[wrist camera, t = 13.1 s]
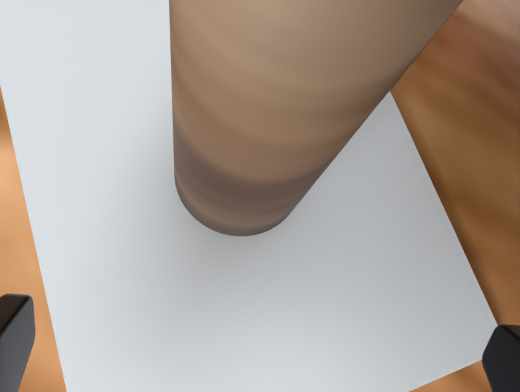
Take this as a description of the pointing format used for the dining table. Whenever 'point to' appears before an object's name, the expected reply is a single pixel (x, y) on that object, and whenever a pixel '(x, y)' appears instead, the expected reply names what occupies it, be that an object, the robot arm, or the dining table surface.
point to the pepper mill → (279, 95)
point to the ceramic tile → (217, 244)
